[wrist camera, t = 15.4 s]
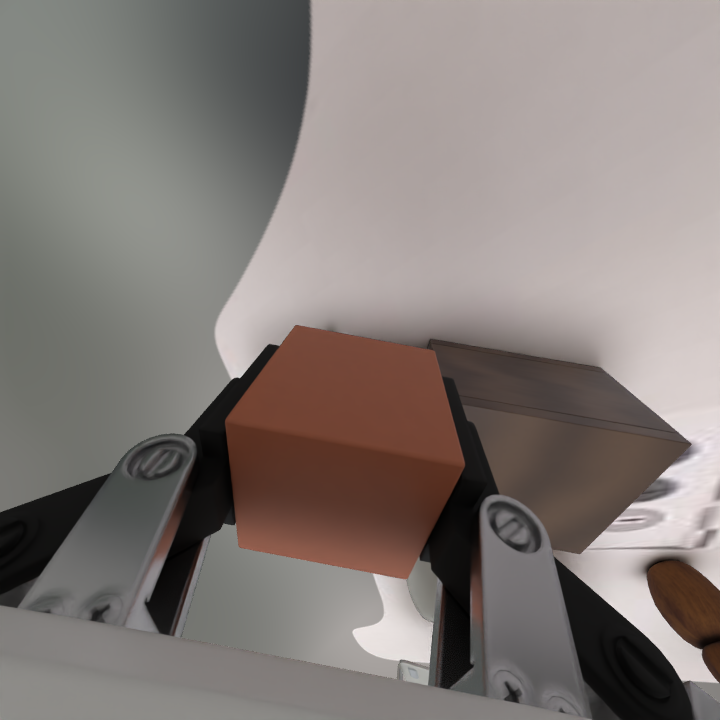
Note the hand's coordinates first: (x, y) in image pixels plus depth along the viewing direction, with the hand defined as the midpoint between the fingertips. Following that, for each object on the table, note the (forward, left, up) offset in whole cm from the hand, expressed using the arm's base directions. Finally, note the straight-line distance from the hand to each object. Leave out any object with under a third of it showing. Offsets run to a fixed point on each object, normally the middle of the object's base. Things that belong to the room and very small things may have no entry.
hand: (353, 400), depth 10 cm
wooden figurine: (+30, +43, -16) cm, 55 cm away
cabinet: (+10, +13, -15) cm, 23 cm away
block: (0, 0, 0) cm, 0 cm away
